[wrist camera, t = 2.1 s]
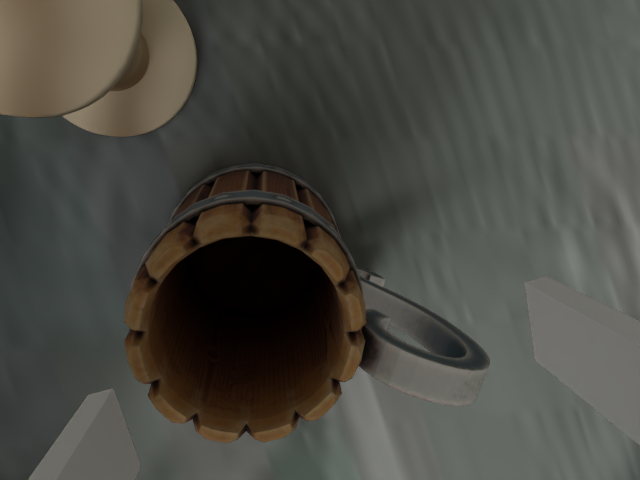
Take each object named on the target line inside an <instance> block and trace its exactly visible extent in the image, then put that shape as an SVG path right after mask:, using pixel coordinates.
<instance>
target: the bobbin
mask: <svg viewBox="0 0 640 480" xmlns="http://www.w3.org/2000/svg"><path fill="white" fill-rule="evenodd" d="M196 74H197V50H196V45H195V40H194V37H193V34H192V31H191V28H190V26H189V24H188V22H187V20H186V18H185V17H184V15H183V13H182V12H181V10H180V9H179V7H178V5H177V4H176V3H175V2H174V0H0V114H3V115H11V116H19V117H29V118H49V117H56V116H62V117H64V118H65V119H67V120H68V121H70V122H71V123H73V124H74V125H76V126H78V127H80V128H82V129H84V130H87V131H90V132H93V133H96V134H101V135H105V136H115V137H131V136H138V135H142V134H146V133H149V132H152V131H154V130H156V129H158V128H160V127H162V126H163V125H165V124H167V123H168V122H169V121H171V120H172V119H173V118H174V117H175V116H176V115H177V114H178V113H179V112H180V111H181V109H182V108H183V107H184V105H185V104H186V102H187V101H188V99H189V97H190V95H191V92H192V90H193V87H194V84H195V80H196Z"/></svg>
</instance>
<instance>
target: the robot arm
mask: <svg viewBox="0 0 640 480" xmlns="http://www.w3.org/2000/svg"><path fill="white" fill-rule="evenodd" d="M524 283H525V290H526V297H527V304H528V312H529V319H530V326H531V334H532V341H533V348H534V356H535V360H536V361H537V362H538V363H539V364H540V365H542V366H543V367H544V368H545V369H547V370H548V371H549V372H550V373H551V374H553V375H554V376H555V377H556V378H558V379H559V380H560V381H561V382H562V383H564V384H565V385H566V386H567V387H569V388H570V389H571V390H572V391H573V392H575V393H576V394H577V395H578V396H580V397H581V398H582V399H583V400H584V401H586V402H587V403H588V404H589V405H591V406H592V407H593V408H594V409H595V410H597V411H598V412H599V413H600V414H601V415H603V416H604V417H605V418H606V419H608V420H609V421H610V422H611V423H612V424H614V425H615V426H616V427H617V428H619V429H620V430H621V431H622V432H623V433H625V434H626V435H627V436H628V437H630V438H631V439H632V440H633V441H634V442H636V443H637V444H638V445H639V446H640V321H638V320H636V319H634V318H632V317H630V316H628V315H626V314H624V313H622V312H620V311H617V310H615V309H613V308H611V307H609V306H607V305H605V304H603V303H601V302H599V301H597V300H595V299H593V298H591V297H589V296H587V295H584V294H582V293H580V292H578V291H576V290H574V289H572V288H570V287H568V286H566V285H564V284H562V283H560V282H558V281H556V280H553V279H551V278H549V277H543V278H539V279H536V280H532V281H528V282H524ZM140 467H141V464H140V461H139V459H138V456H137V453H136V450H135V447H134V445H133V442H132V439H131V436H130V433H129V431H128V428H127V425H126V422H125V420H124V417H123V414H122V411H121V408H120V406H119V403H118V400H117V397H116V394H115V392H114V389H113V388H112V389H108V390H104V391H101V392H97V393H93V394H89V395H87V397H86V398H85V400H84V401H83V403H82V404H81V405H80V407H79V408H78V410H77V411H76V412H75V414H74V415H73V417H72V418H71V419H70V421H69V422H68V424H67V425H66V426H65V428H64V429H63V431H62V432H61V434H60V435H59V436H58V438H57V439H56V441H55V442H54V443H53V445H52V446H51V448H50V449H49V450H48V452H47V453H46V455H45V456H44V458H43V459H42V460H41V462H40V463H39V465H38V466H37V467H36V469H35V470H34V472H33V473H32V474H31V476H30V477H29V479H28V480H136V477H137V474H138V472H139V469H140Z"/></svg>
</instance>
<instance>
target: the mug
mask: <svg viewBox="0 0 640 480" xmlns="http://www.w3.org/2000/svg"><path fill="white" fill-rule="evenodd" d="M384 283H385V279H384V278H383V277H382V276H380V275H378V274H376V273H374V272H372V271H369V270H367V269H364V268H361V267H357V266H356V265H355V263H354V260H353V258H352V255H351V253H350V251H349V249H348V247H347V246H346V244H345V243H344V241H343V240H342V239H341V236H340V233H339V230H338V227H337V224H336V222H335V219H334V216H333V214H332V211H331V210H330V208H329V207H328V205H327V204H326V202H325V201H324V199H323V198H322V197H321V195H320V194H319V192H318V191H317V190H315V189H314V188H313V187H312V186H311V185H309V184H308V183H307V182H306V181H305V180H304V179H302V178H301V177H299V176H297V175H295V174H293V173H291V172H288V171H286V170H284V169H282V168H280V167H274V166H269V165H263V164H258V163H255V164H244V165H233V166H230V167H228V168H225V169H222V170H219V171H217V172H214V173H211V174H210V175H208V176H207V177H206V178H204V179H203V180H201V181H200V182H198V183H197V184H196V185H194V186H193V187H192V188H191V189H190V190H189V191H188V193H187V194H186V195H185V196H184V198H183V199H182V200H181V201H180V203H179V204H178V205H177V206H176V208H175V209H174V211H173V214H172V216H171V218H170V221H169V222H168V224H167V225H166V226H165V227H164V228H163V230H162V231H161V232H160V233H159V235H158V236H157V237H156V238H155V239H154V241H153V242H152V243H151V245H150V246H149V248H148V249H147V250H146V252H145V253H144V255H143V257H142V260H141V262H140V264H139V266H138V269H137V271H136V273H135V276H134V278H133V280H132V283H131V290H130V293H129V295H128V297H127V300H126V307H125V316H124V322H125V323H126V324H127V325H128V326H129V327H130V331H129V333H128V335H127V337H126V339H125V347H126V353H127V359H128V363H129V365H130V368H131V370H132V372H133V374H134V377H135V378H136V379H137V380H138V381H140V382H142V383H143V384H149V383H151V387H150V390H149V393H148V397H149V399H150V400H151V402H152V403H153V405H154V407H155V408H156V409H157V410H158V411H159V412H160V413H161V414H162V415H163V416H165V417H166V418H167V419H169V420H170V421H171V422H172V423H185V422H188V421H190V420H192V419H193V422H194V425H195V429H196V431H197V432H198V433H199V434H200V435H202V436H203V437H204V438H205V439H209V440H213V441H217V442H223V443H229V442H232V441H235V440H237V439H238V438H239V437H240V436H241V435H242V434H244V433H245V432H246V431H247V432H248V433H249V434H250V435H251V436H252V437H253V438H254V439H256V440H259V441H262V442H267V441H272V440H276V439H279V438H283V437H286V436H287V435H288V434H290V433H291V432H292V431H293V430H295V429H296V426H297V422H298V419H299V417H300V418H302V419H304V420H306V421H311V420H318V419H319V418H320V417H321V416H322V415H324V414H325V413H326V412H327V411H328V410H329V409H330V408H331V407H332V406H333V405H334V404H335V403H336V401H337V400H338V398H339V397H340V395H341V394H342V392H341V387H340V383H339V381H340V382H346V381H348V380H350V379H352V377H353V376H354V374H355V372H356V370H357V368H358V366H360V367H361V368H362V369H363V370H364V371H366V372H367V373H368V374H370V375H371V376H372V377H374V378H376V379H377V380H379V381H381V382H382V383H384V384H386V385H388V386H390V387H392V388H394V389H396V390H399V391H401V392H403V393H405V394H408V395H411V396H414V397H417V398H420V399H423V400H426V401H430V402H434V403H439V404H443V405H451V406H464V405H470V404H471V403H473V402H474V401H475V400H476V397H477V395H478V392H479V390H480V387H481V385H482V382H483V380H484V377H485V375H486V372H487V370H488V367H489V365H490V359H489V357H488V355H487V354H486V352H485V351H484V350H483V349H482V348H481V347H480V346H479V345H478V344H477V343H476V342H475V341H474V340H472V339H471V338H470V337H469V336H467V335H466V334H465V333H463V332H462V331H461V330H459V329H458V328H457V327H455V326H454V325H452V324H451V323H450V322H448V321H447V320H445V319H443V318H442V317H440V316H439V315H437V314H435V313H434V312H432V311H430V310H428V309H426V308H424V307H423V306H421V305H419V304H417V303H415V302H413V301H411V300H409V299H407V298H405V297H403V296H401V295H399V294H396V293H394V292H392V291H390V290H388V289H386V288H384V287H383V286H384ZM389 325H391V326H393V327H395V328H397V329H398V330H400V331H402V332H403V333H405V334H407V335H408V336H410V337H411V338H413V339H414V340H416V341H417V342H419V343H420V344H421V345H422V346H424V347H425V348H426V349H427V350H429V351H430V352H431V353H430V352H427V351H424V350H421V349H418V348H416V347H414V346H411V345H409V344H407V343H405V342H403V341H401V340H399V339H397V338H396V337H394V336H393V335H391V334H390V333H389V332H387V329H388V326H389Z"/></svg>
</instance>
